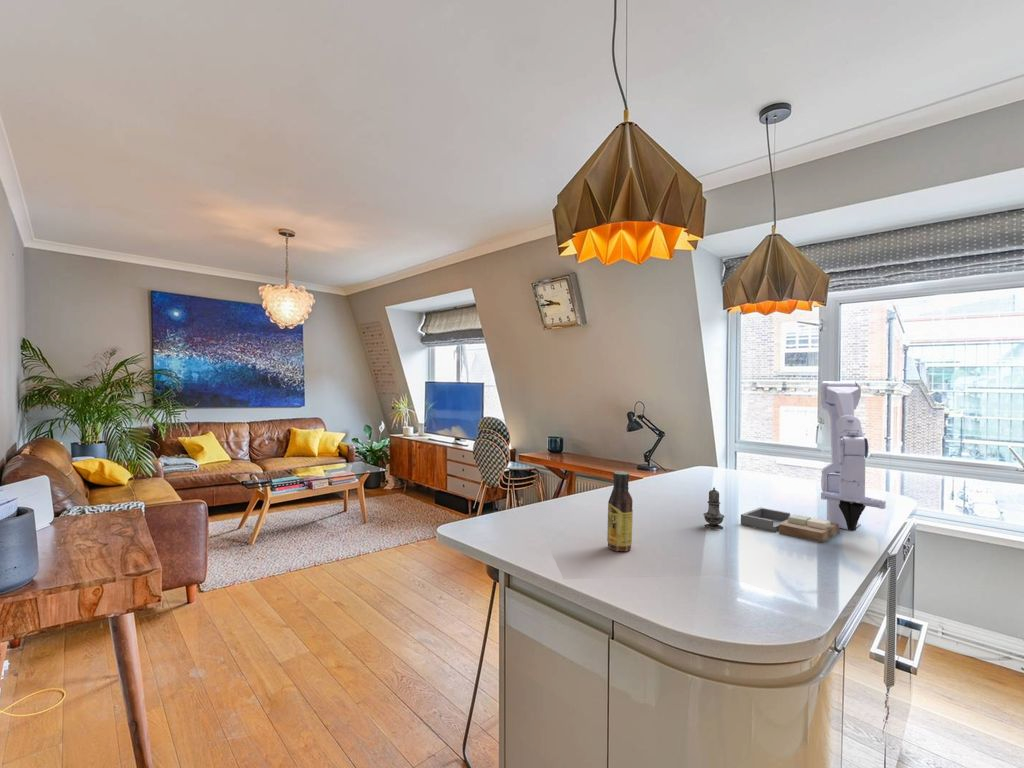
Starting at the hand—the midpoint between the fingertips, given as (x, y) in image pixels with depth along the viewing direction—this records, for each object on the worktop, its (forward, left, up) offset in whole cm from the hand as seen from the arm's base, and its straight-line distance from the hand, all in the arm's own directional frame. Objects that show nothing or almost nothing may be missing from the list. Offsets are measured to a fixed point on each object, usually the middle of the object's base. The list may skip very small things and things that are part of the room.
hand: (851, 530), depth 134 cm
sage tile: (0, -13, -1) cm, 13 cm away
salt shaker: (+16, -31, -3) cm, 35 cm away
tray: (0, -22, -3) cm, 22 cm away
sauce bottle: (+54, -37, -3) cm, 66 cm away
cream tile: (0, -8, -1) cm, 8 cm away
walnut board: (0, -10, -3) cm, 11 cm away
